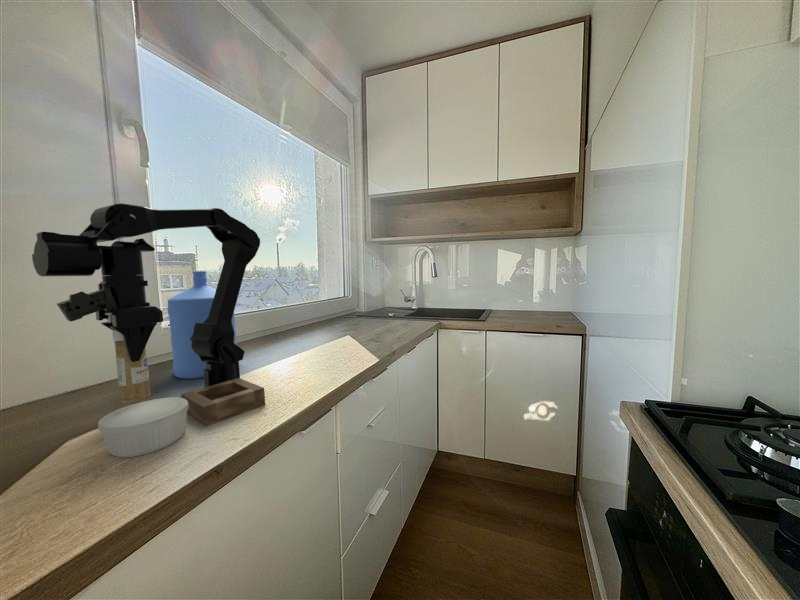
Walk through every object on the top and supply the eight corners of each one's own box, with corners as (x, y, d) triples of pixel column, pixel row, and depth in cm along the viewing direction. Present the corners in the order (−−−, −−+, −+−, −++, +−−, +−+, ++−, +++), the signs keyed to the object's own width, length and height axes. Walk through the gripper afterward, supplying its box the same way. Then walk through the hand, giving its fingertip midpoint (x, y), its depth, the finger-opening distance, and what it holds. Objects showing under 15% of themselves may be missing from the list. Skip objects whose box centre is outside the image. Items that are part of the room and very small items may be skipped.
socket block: (239, 393, 70) (238, 377, 69) (265, 404, 63) (264, 387, 63) (182, 410, 61) (181, 393, 61) (205, 426, 54) (203, 407, 54)
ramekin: (127, 431, 54) (124, 401, 53) (200, 420, 57) (198, 392, 56) (81, 469, 43) (77, 433, 43) (175, 454, 46) (171, 420, 46)
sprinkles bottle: (149, 399, 58) (142, 328, 57) (117, 406, 55) (109, 331, 54) (152, 392, 62) (146, 325, 61) (122, 398, 59) (114, 328, 58)
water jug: (250, 366, 91) (243, 270, 89) (191, 383, 77) (181, 270, 75) (220, 360, 99) (213, 272, 97) (162, 374, 86) (153, 272, 83)
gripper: (52, 277, 56) (62, 362, 57) (65, 275, 45) (77, 381, 46) (132, 276, 65) (139, 350, 66) (160, 274, 53) (168, 363, 55)
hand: (132, 359), depth 58 cm, fingers closed on sprinkles bottle, 4 cm apart
